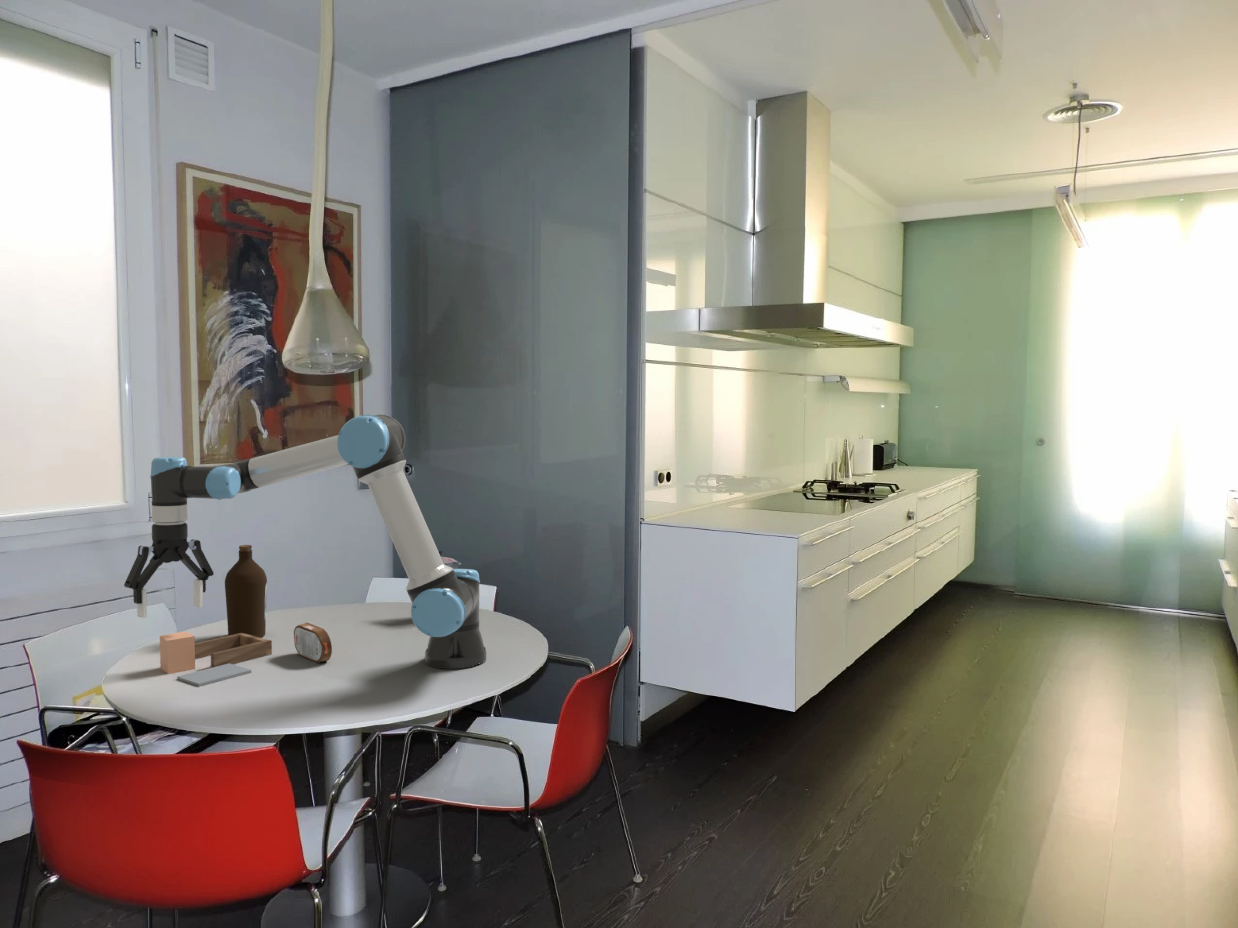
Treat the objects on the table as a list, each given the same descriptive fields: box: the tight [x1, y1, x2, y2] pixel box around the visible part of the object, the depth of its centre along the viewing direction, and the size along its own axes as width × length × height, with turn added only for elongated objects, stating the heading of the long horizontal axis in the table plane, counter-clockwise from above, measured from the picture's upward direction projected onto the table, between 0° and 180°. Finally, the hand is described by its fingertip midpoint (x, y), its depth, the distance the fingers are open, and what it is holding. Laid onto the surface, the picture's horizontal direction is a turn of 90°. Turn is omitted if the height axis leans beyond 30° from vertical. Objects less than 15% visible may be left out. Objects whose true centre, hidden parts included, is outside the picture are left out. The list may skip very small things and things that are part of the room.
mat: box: [176, 663, 252, 687], centre depth 207 cm, size 9×13×1 cm
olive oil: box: [224, 544, 268, 638], centre depth 241 cm, size 11×11×25 cm
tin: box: [293, 622, 333, 664], centre depth 221 cm, size 15×3×8 cm, turn 47°
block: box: [159, 631, 196, 675], centre depth 212 cm, size 6×6×8 cm
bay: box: [195, 633, 273, 668], centre depth 222 cm, size 13×16×4 cm
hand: (171, 611), depth 209 cm, fingers open, 13 cm apart
